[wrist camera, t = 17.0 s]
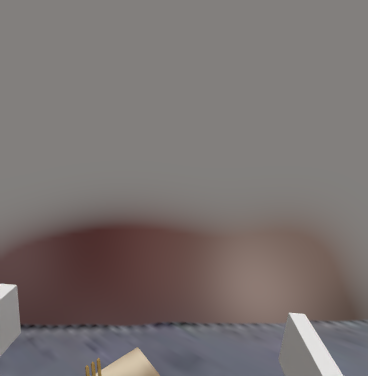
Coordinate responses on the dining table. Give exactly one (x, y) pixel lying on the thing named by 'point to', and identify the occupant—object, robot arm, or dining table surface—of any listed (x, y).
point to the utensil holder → (94, 368)
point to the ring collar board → (130, 366)
